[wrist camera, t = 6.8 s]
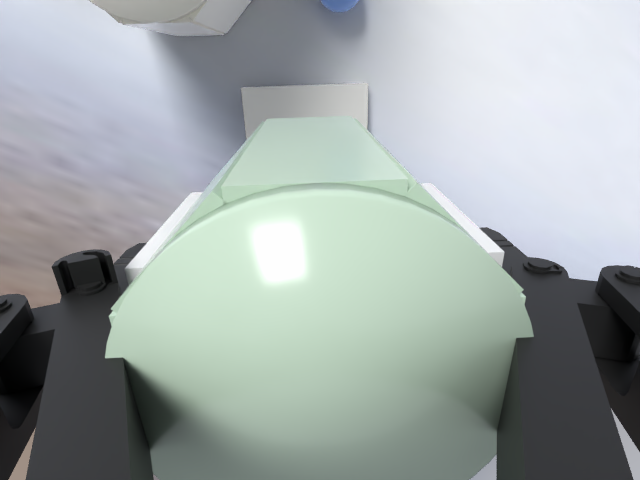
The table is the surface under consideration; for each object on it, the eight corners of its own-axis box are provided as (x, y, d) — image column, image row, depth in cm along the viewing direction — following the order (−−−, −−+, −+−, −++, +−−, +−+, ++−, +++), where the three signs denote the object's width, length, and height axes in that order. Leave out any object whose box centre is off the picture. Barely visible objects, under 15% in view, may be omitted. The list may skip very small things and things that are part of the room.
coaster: (254, 204, 33) (253, 208, 32) (242, 87, 29) (240, 87, 28) (364, 200, 33) (366, 203, 32) (366, 82, 29) (368, 83, 28)
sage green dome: (201, 121, 15) (44, 208, 6) (415, 113, 15) (581, 186, 6) (228, 304, 18) (153, 540, 9) (403, 296, 19) (500, 519, 9)
